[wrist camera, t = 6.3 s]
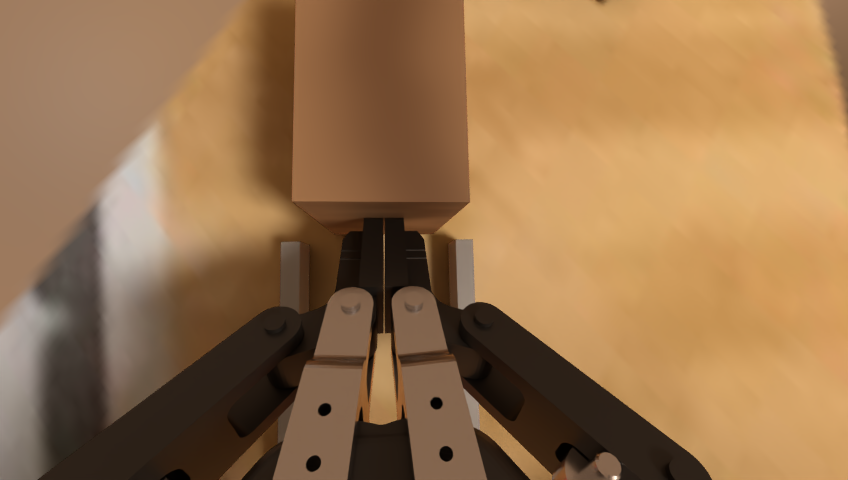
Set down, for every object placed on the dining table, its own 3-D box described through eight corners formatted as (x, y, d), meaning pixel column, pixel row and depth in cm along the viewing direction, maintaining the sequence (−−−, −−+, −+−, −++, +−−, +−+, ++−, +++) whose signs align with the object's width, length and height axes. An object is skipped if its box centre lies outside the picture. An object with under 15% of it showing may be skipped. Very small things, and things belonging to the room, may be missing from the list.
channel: (289, 550, 16) (275, 590, 14) (292, 245, 17) (280, 241, 15) (473, 530, 17) (484, 565, 15) (463, 243, 18) (472, 239, 16)
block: (334, 234, 17) (291, 201, 10) (335, 47, 18) (297, -124, 10) (432, 233, 18) (469, 202, 10) (429, 52, 19) (460, -107, 11)
